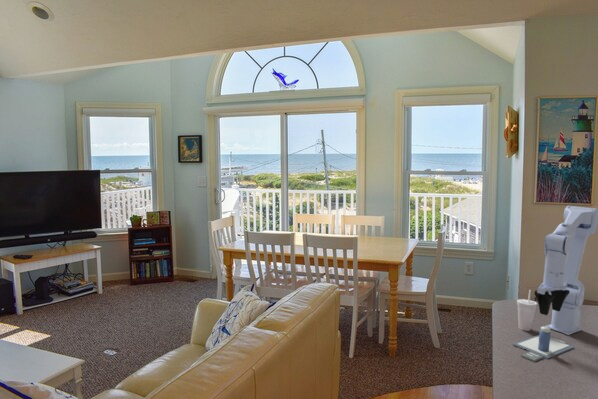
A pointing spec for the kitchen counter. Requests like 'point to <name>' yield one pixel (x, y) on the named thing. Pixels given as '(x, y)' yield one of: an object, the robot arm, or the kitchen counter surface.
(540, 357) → the word card
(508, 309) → the kitchen counter surface
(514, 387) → the kitchen counter surface
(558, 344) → the clipboard
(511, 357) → the kitchen counter surface
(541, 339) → the blue bottle
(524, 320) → the smoothie
